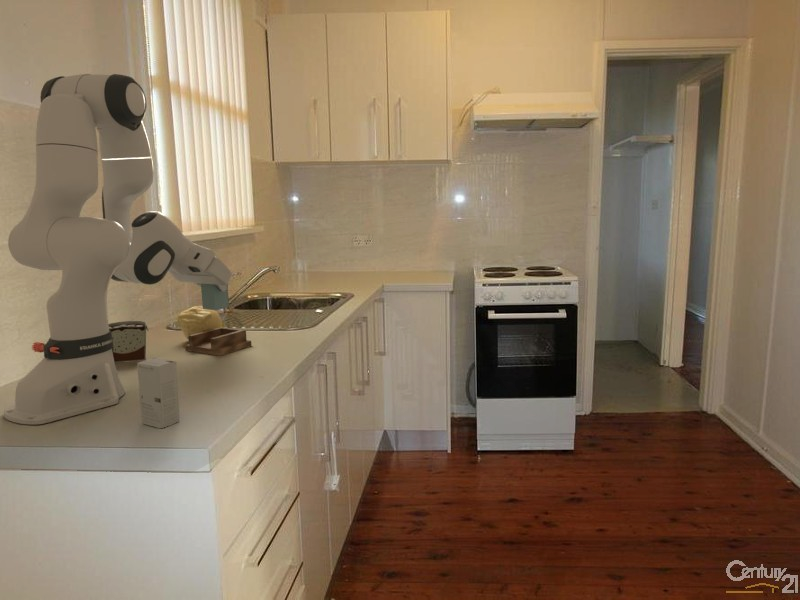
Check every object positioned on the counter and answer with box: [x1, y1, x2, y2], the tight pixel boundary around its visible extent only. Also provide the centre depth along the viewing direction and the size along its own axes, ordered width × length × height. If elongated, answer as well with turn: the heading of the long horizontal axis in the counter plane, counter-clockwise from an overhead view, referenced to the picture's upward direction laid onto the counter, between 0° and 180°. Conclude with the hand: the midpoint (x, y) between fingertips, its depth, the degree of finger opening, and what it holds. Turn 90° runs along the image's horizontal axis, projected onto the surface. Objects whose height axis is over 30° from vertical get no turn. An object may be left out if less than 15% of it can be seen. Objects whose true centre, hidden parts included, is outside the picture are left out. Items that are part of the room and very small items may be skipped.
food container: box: [108, 320, 149, 363], centre depth 157 cm, size 12×6×10 cm, turn 104°
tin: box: [200, 283, 230, 310], centre depth 164 cm, size 5×5×10 cm
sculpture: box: [177, 305, 222, 341], centre depth 175 cm, size 11×12×11 cm
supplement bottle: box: [215, 308, 226, 328], centre depth 182 cm, size 6×6×10 cm
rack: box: [184, 327, 252, 356], centre depth 166 cm, size 12×14×4 cm
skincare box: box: [137, 357, 180, 429], centre depth 109 cm, size 6×4×12 cm
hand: (216, 289), depth 164 cm, fingers closed on tin, 5 cm apart
